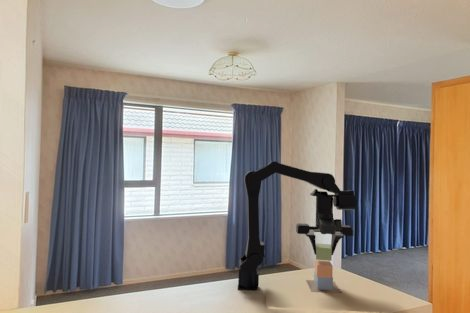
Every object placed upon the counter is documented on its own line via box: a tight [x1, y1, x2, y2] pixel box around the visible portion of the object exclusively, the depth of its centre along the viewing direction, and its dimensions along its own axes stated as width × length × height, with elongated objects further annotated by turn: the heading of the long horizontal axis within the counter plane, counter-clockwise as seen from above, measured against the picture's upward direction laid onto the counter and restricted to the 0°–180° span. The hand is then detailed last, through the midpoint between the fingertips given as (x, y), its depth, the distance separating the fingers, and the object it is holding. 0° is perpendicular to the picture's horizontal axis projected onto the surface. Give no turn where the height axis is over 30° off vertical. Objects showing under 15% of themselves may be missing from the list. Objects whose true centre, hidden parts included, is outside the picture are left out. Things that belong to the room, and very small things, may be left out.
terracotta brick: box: [314, 259, 334, 278], centre depth 119 cm, size 5×7×4 cm
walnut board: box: [305, 279, 343, 294], centre depth 119 cm, size 10×12×1 cm
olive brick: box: [315, 243, 333, 262], centre depth 120 cm, size 5×7×4 cm
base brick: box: [313, 270, 334, 290], centre depth 119 cm, size 5×7×4 cm
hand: (323, 254), depth 119 cm, fingers closed on olive brick, 5 cm apart
